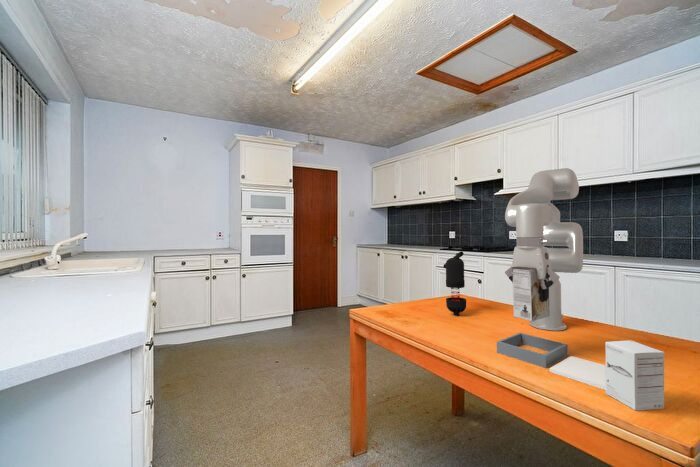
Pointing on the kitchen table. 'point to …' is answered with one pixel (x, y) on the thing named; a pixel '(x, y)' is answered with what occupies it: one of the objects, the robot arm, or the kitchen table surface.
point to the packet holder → (543, 360)
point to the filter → (455, 283)
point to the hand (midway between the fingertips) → (531, 298)
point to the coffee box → (528, 295)
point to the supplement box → (635, 374)
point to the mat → (582, 371)
